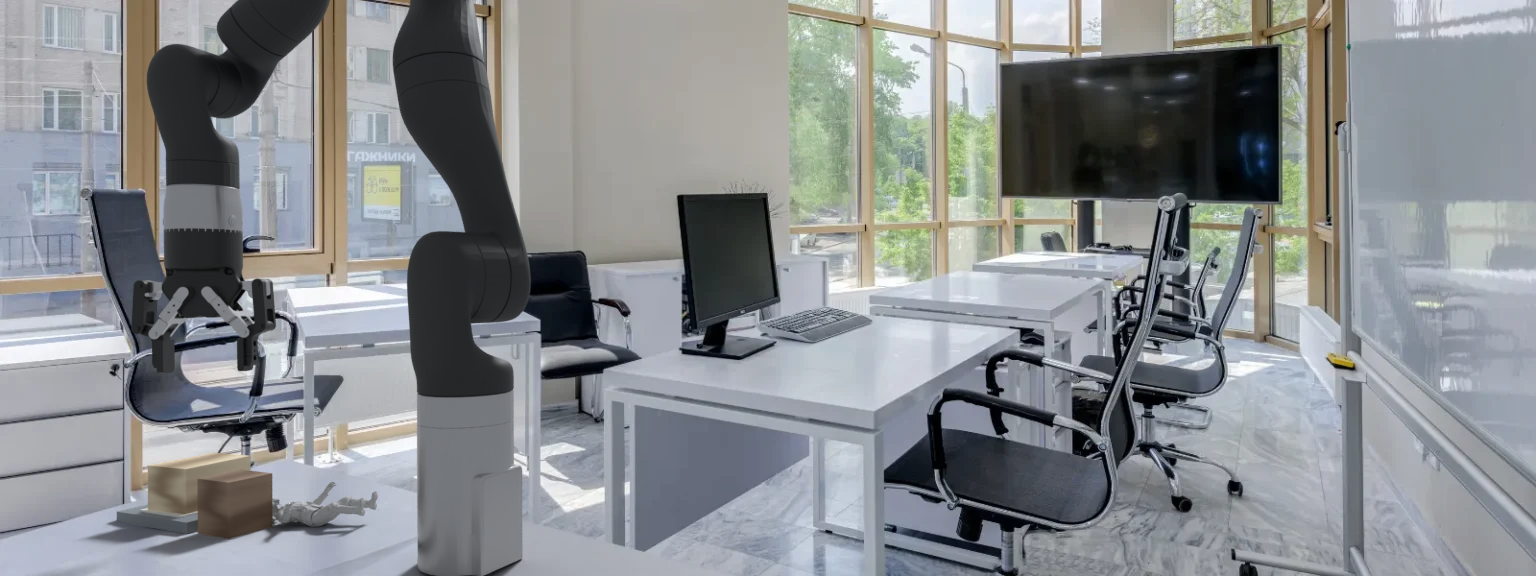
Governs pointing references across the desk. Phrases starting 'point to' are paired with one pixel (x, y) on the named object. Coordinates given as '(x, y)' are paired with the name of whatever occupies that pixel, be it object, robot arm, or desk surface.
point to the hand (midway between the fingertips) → (205, 371)
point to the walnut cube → (234, 503)
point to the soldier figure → (322, 509)
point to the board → (162, 519)
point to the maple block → (187, 480)
